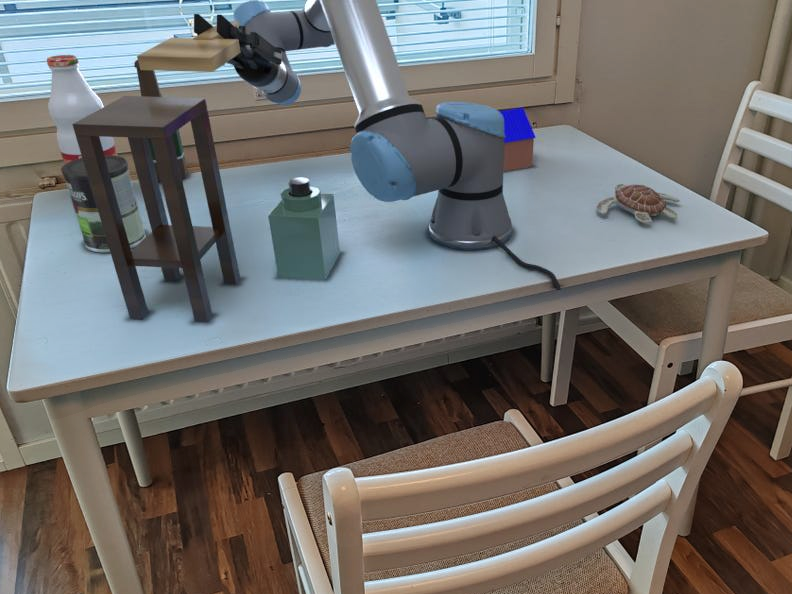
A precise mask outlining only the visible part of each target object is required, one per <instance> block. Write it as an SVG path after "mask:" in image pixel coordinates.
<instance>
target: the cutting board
mask: <svg viewBox="0 0 792 594" xmlns="http://www.w3.org/2000/svg"><path fill="white" fill-rule="evenodd" d="M229 22H230V23H231V24H232V25H233V26H234V27H237V28H238V26H240V23H239V22H234V21H229ZM239 53H241V51H240V45H239V40H238V39H224V38H223V37H222V36H221V35H220V34H218V33H217V24H216V25H214V26H213V27H212V28H210V29H209V30H207V31H205V32H203V33H202V34H200V35H198V36H197V35H196V36H195V37H170V38H168V39H166V40H164V41H162V42H160V43H159V44H158V43H157V44H156V45H155V46H153V47H151V48H149V49H146V50H145V51H143V52H142V53H140V54H138V55H136V57H137V58H136V59H137V60H138V62H139V66H140V70H154V71H160V72H161V71H162V72H196V73H197V72H199V73H214V72H215V71H217V70H218V69H220V68H221V67H222V66H224V65H226V63H227V62H228V61H229V60H231V59H232V58H234V57H235V56H237V55H238V54H239ZM227 64H228V63H227Z"/></svg>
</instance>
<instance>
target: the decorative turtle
mask: <svg viewBox="0 0 792 594" xmlns="http://www.w3.org/2000/svg"><path fill="white" fill-rule="evenodd" d="M614 188H615V189H614V193H615V195H614V196H611V197H608V198H605V199H603V200H601V201H600V202H598V203H597V205H596V207H595V208H596V211H597V212H598V213H600V214H601V215H607V214H608V212H609V211H608V210H609V208H610V207H611V206H612V205H614V204H616V205H617V206H618V207H619V208H621V209H623V210H624V211H626V212H628V213H629V214H631V215H634V218H635V220H637V222H640V223H642V224H651V223H652V222H653V220H652V218H651V217H656V216H657V215H659V214H663V215H666V217H669V218H670V219H673V220H676V219H678V217H679V216H678V214H677V212H675V210H673V209H671V208H670V207H668V206H667V202H666V201H671V202H673V203H679V202H681V199H679V198H677V197H675V196H672V195H669V194H666V193H663V192H657V191H656V190H654V189H653V188H651V187H648V186H646V185H644V184H630V185H629V184H628V185H626V184H623V183H619V184H616V185H615V187H614Z"/></svg>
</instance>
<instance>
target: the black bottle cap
mask: <svg viewBox="0 0 792 594" xmlns="http://www.w3.org/2000/svg"><path fill="white" fill-rule="evenodd" d="M310 186H311V184H310V180H309V178H307V177H299V176H298V177H293V178H291V179H289V180H288V188H290V195H291V196H293V197H305V196H308V195H310V194H311V192H310Z"/></svg>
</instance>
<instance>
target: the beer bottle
mask: <svg viewBox="0 0 792 594" xmlns="http://www.w3.org/2000/svg"><path fill="white" fill-rule="evenodd" d="M133 67H134V68H135V69H136V72H137V73H136V74H137V80H138V84H139V85H138V86H139V90H140V96H145V97H163V95H162V93H161V89H160V86H159V82H158V79H157V76H156V72H155V70H140V66H139V62H138V59H136V60H135V61H134V63H133ZM172 137H173V141H174V146H175V150H176V155H177V159H178V164H179V168H180V173H181V177H182V180H184V179H186V178H187V175H188V166H187V161H186V156H185V151H184V147H183V143H182V138H181V133H180V129H178V130H177V131H175V132H174V133H173V134H172ZM148 142H149V146H150V150H151V154H152V158H153V162H154V166H155V171H156V175H157V179H158V183H161V179H160V175H159V171H158V166H157V162H156V158H155V154H154V150H153V146H152V142H151V138H148Z"/></svg>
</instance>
